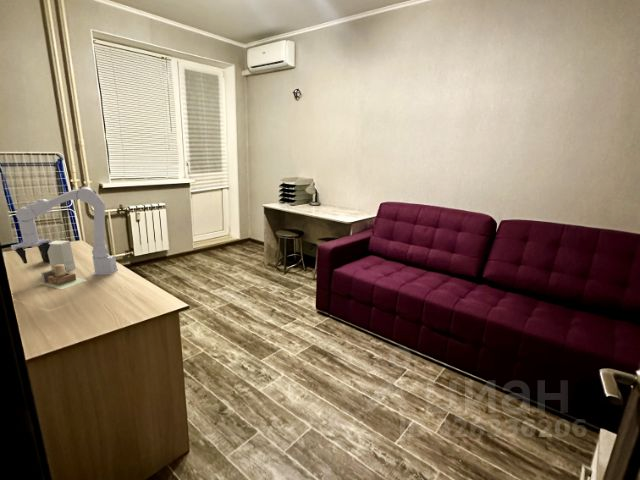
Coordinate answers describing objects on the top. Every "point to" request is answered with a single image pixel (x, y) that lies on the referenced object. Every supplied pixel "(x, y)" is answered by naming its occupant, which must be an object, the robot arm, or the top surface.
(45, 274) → the wall
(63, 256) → the skincare box
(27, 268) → the top surface
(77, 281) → the board
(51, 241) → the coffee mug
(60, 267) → the dowel
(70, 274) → the brown wooden square frame
